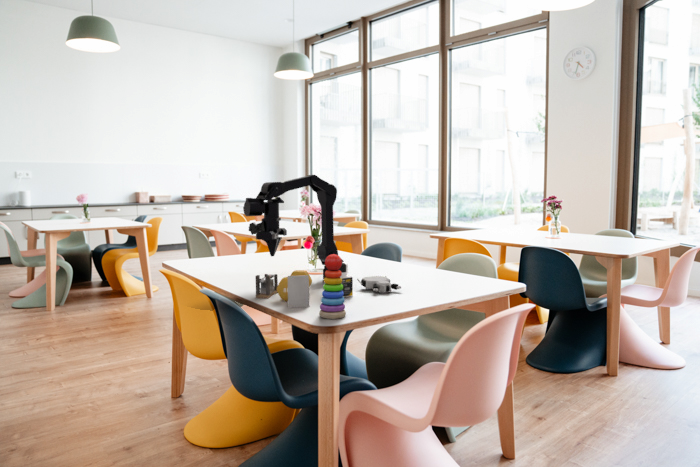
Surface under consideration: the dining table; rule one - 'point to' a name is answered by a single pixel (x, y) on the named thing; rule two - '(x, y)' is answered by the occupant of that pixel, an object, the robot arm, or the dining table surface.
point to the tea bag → (298, 291)
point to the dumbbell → (283, 284)
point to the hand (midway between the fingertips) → (272, 256)
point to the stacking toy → (332, 290)
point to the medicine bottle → (346, 281)
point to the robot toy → (378, 284)
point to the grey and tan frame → (266, 287)
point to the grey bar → (265, 279)
